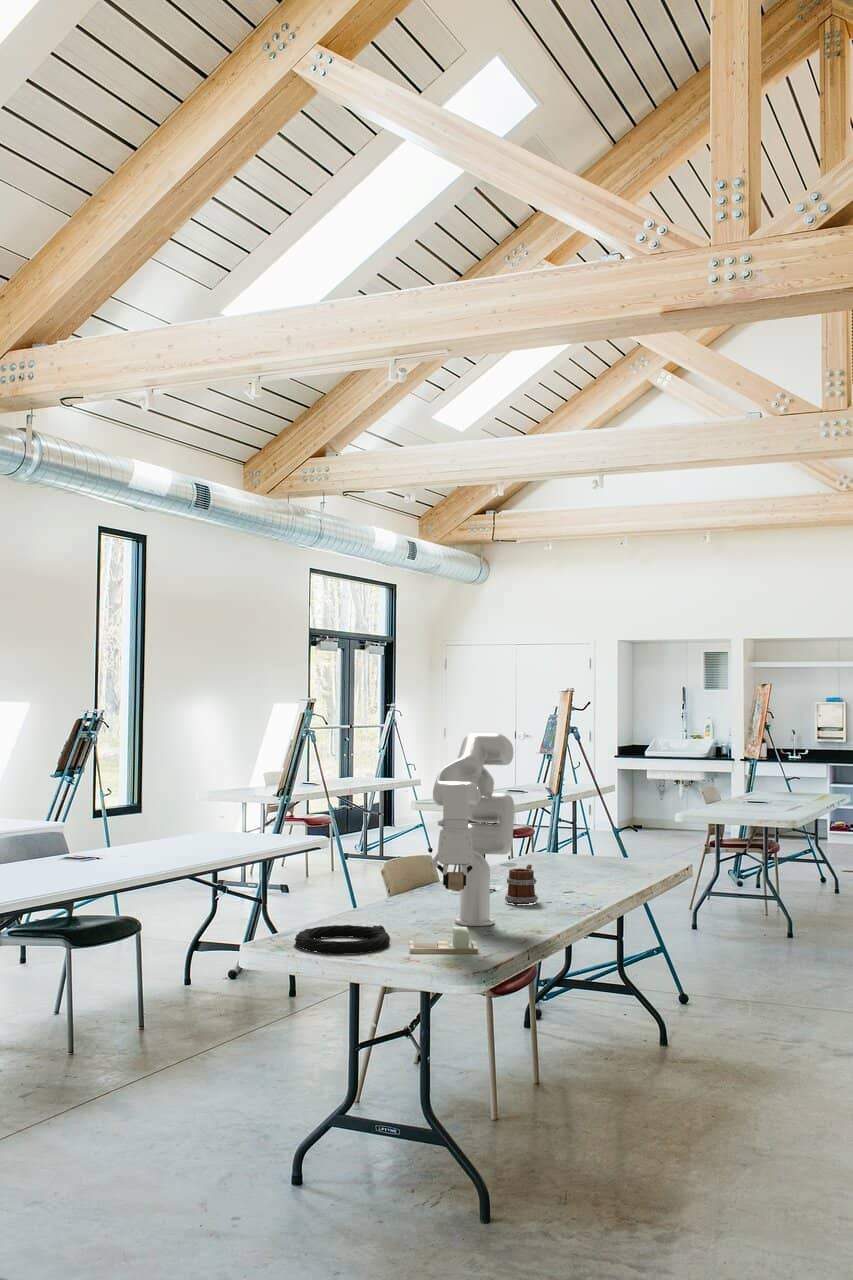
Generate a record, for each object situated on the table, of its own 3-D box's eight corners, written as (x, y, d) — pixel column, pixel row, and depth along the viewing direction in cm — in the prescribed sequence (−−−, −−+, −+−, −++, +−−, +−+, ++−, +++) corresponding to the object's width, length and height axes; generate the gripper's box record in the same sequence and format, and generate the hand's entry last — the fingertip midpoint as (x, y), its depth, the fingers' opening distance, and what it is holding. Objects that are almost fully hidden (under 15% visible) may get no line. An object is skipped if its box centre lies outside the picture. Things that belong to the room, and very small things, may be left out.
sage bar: (452, 944, 320) (452, 926, 321) (466, 944, 320) (466, 926, 321) (454, 950, 311) (455, 932, 312) (469, 950, 312) (469, 932, 312)
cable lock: (274, 932, 318) (349, 919, 340) (274, 946, 318) (349, 931, 340) (341, 946, 300) (415, 931, 322) (341, 961, 300) (415, 944, 322)
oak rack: (409, 943, 321) (409, 939, 322) (474, 944, 322) (474, 939, 322) (410, 953, 308) (410, 948, 309) (477, 953, 309) (477, 949, 309)
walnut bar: (446, 889, 327) (447, 872, 328) (460, 889, 328) (460, 872, 329) (449, 889, 319) (449, 871, 320) (463, 889, 319) (463, 872, 320)
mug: (498, 904, 390) (501, 861, 394) (512, 905, 403) (515, 863, 406) (529, 906, 385) (532, 863, 389) (543, 908, 398) (545, 865, 401)
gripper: (427, 825, 322) (426, 889, 320) (485, 826, 323) (484, 890, 321) (426, 823, 329) (425, 886, 328) (482, 824, 330) (481, 887, 328)
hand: (454, 887), depth 324 cm, fingers closed on walnut bar, 4 cm apart
